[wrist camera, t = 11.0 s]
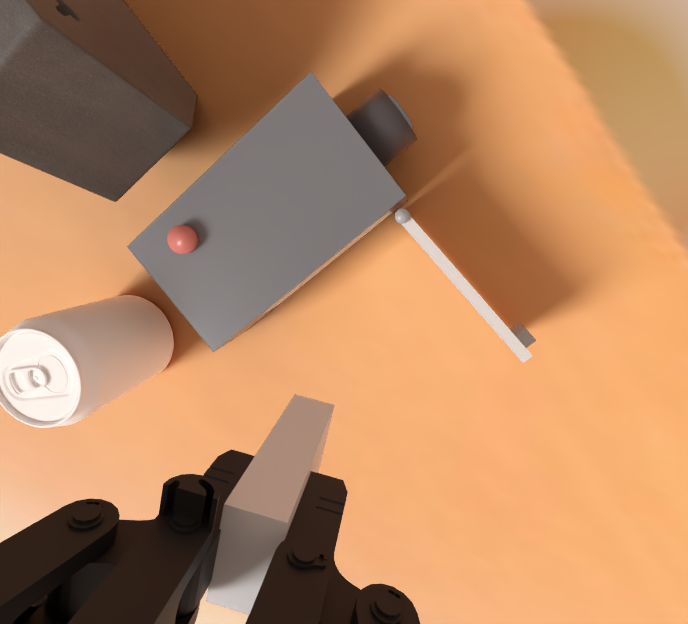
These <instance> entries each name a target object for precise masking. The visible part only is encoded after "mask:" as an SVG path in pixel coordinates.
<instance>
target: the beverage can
mask: <svg viewBox="0 0 688 624" xmlns="http://www.w3.org/2000/svg"><path fill="white" fill-rule="evenodd" d="M173 348H174V338H173V332H172V329H171V326H170V324H169V322H168V320H167V318H166V316H165V315H164V314H163V312H162V311H161V310H160V309H159V308H158V307H157V306H156V305H154V304H153V303H151V302H150V301H148V300H146V299H144V298H141V297H138V296H133V295H122V296H117V297H113V298H109V299H105V300H101V301H97V302H93V303H89V304H85V305H81V306H77V307H73V308H69V309H65V310H61V311H57V312H53V313H49V314H45V315H41V316H37V317H33V318H30V319H27V320H24V321H22V322H20V323H19V324H17V325H15V326H14V327H13V328H12V329H11V330H10V331H9V332H8V333H6V334H5V335H3V336H2V337H1V338H0V404H1V405H2V406H3V408H4V409H5V410H6V411H7V412H8V413H9V414H11V415H12V416H13V417H14V418H16V419H17V420H19V421H21V422H23V423H25V424H27V425H30V426H34V427H41V428H46V427H53V426H65V425H70V424H73V423H76V422H79V421H81V420H82V419H84V418H86V417H87V416H89V415H91V414H93V413H94V412H96V411H98V410H99V409H101V408H103V407H104V406H106V405H108V404H109V403H111V402H113V401H114V400H116V399H118V398H119V397H121V396H123V395H125V394H126V393H128V392H130V391H131V390H133V389H135V388H136V387H138V386H140V385H141V384H143V383H145V382H146V381H148V380H150V379H151V378H153V377H155V376H156V375H158V374H159V373H161V372H162V371H163V370H164V369H165V368H166V366H167V365H168V363H169V361H170V359H171V357H172V354H173Z"/></svg>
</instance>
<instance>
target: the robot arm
mask: <svg viewBox="0 0 688 624" xmlns="http://www.w3.org/2000/svg"><path fill="white" fill-rule="evenodd" d="M333 409H334V405H332V404H328V403H325V402H321V401H317V400H314V399H310V398H306V397H303V396H299V395H296V394H295V395H294V396H293V398H292V399H291V401H290V402H289V404H288V406H287V407H286V409H285V410H284V412H283V413H282V415H281V416H280V418H279V420H278V421H277V423H276V424H275V426H274V427H273V429H272V430H271V432H270V434H269V435H268V437H267V438H266V440H265V441H264V443H263V444H262V446H261V447H260V449H259V451H258V452H257V454H256V455H255V456H252V455H249V454H245V453H242V452H238V451H235V450H230V451H228V452H226V453H224V454H222V455H220V456H218V457H217V458H216V460H215V461H214V462H213V463H212V465H211V466H210V468H208V470H207V471H206V472H205V474H204V476H202V475H195V474H186V475H179V476H176V477H173V478H171V479H169V480H168V481H166V482H165V483H164V484H163V490H162V497H161V504H160V510H159V515H158V516H157V517H156V518H155V519H153V520H143V521H136V520H119V512H118V508H116V507H115V506H114V505H113V504H112V503H110V502H107V501H105V500H102V499H85V500H79V501H75V502H73V503H71V504H68V505H66V506H64V507H62V508H60V509H59V510H57V511H55V512H53V513H52V514H50V515H48V516H46V517H45V518H43V519H41V520H39V521H38V522H36V523H34V524H32V525H31V526H29V527H27V528H25V529H24V530H22V531H20V532H18V533H17V534H15V535H13V536H11V537H10V538H8V539H6V540H4V541H3V542H1V543H0V624H194V623H195V621H196V618H197V614H198V610H199V605H200V600H201V599H202V597H203V595H204V593H205V591H206V589H207V588H208V592H207V597H206V601H207V602H210V603H213V604H216V605H219V606H222V607H226V608H229V609H232V610H235V611H238V612H241V613H244V614H247V615H249V617H248V619H247V622H246V624H420V621H419V618H418V614H417V612H416V610H415V607H414V605H413V603H412V602H411V601H410V600H409V599H408V598H407V596H406V595H405V594H404V593H402V592H401V591H399V590H397V589H396V588H394V587H392V586H388V585H384V584H371V585H369V586H367V587H365V588H363V589H362V590H360V589H359V588H357V587H356V586H354V585H352V584H351V583H350V582H348V581H347V580H346V579H345V578H344V577H343V576H342V575H341V574H340V573H339V571H338V569H337V567H336V565H335V561H334V551H335V546H336V542H337V537H338V533H339V528H340V524H341V519H342V515H343V510H344V506H345V501H346V497H347V490H346V487H345V484H344V482H343V480H340V479H337V478H333V477H330V476H326V475H323V474H319V473H318V471H319V467H320V463H321V459H322V455H323V450H324V446H325V442H326V438H327V434H328V429H329V425H330V421H331V417H332V413H333ZM208 586H209V587H208Z"/></svg>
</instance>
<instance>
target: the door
mask: <svg viewBox="0 0 688 624" xmlns="http://www.w3.org/2000/svg"><path fill="white" fill-rule="evenodd" d="M395 220H396V221H397V222H398V223H400V224H402V226H403V227H404V228H405V229H406V230H407V231H408V232H409V234H410V235H411V236H412V237H413V238H414V239H415V240H416V242H417V243H418V244H419V245H420V246H421V247H422V248H423V250H424V251H425V252H426V253H427V254H428V255H429V256H430V258H431V259H432V260H433V261H434V262H435V263H436V264H437V266H438V267H439V268H440V269H441V270H442V271H443V272H444V274H445V275H446V276H447V277H448V278H449V279H450V280H451V281H452V283H453V284H454V285H455V286H456V287H457V288H458V289H459V291H460V292H461V293H462V294H463V295H464V296H465V297H466V299H467V300H468V301H469V302H470V303H471V304H472V305H473V307H474V308H475V309H476V310H477V311H478V312H479V313H480V315H481V316H482V317H483V318H484V319H485V320H486V321H487V323H488V324H489V325H490V326H491V327H492V328H493V329H494V331H495V332H496V333H497V334H498V335H499V336H500V337H501V339H502V340H503V341H504V342H505V343H506V344H507V345H508V346H509V348H510V349H511V350H512V351H513V352H514V353H515V354H516V356H517V357H518V358H519V359H520V360H521V361H522V362H523V363H524V362H525V361H527V360H528V359H529V358H531V357H532V355H531V353H530V352H529V351H528V350H527V349H526V348H527V347H528V346H529V345H531V344H532V343H533V342H535V341H536V340H535V338H534V337H533V336H532V335H531V334H530V333H529V332H528V330H527V329H526V328H525V327H524V326H523V325H522V324H521V323H520V322H519V323H517V324H516V325H515V326H513V327H512V328H511V329H509V328H508V327H507V326H506V325H505V324H504V322H503V321H502V320H501V319H500V318H499V317H498V316H497V314H496V313H495V312H494V311H493V310H492V309H491V308H490V306H489V305H488V304H487V303H486V302H485V301H484V300H483V298H482V297H481V296H480V295H479V294H478V293H477V292H476V290H475V289H474V288H473V287H472V286H471V285H470V284H469V282H468V281H467V280H466V279H465V278H464V277H463V276H462V274H461V273H460V272H459V271H458V270H457V269H456V268H455V266H454V265H453V264H452V263H451V262H450V261H449V260H448V258H447V257H446V256H445V255H444V254H443V253H442V252H441V250H440V249H439V248H438V247H437V246H436V245H435V244H434V242H433V241H432V240H431V239H430V238H429V237H428V236H427V234H426V233H425V232H424V231H423V230H422V229H421V228H420V226H419V225H418V224H417V223H416V222H415V221H414V220H413V218H412V217H411V215H410V213H409V212H408V210H406V209H399V210H397V211H396V213H395Z"/></svg>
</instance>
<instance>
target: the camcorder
mask: <svg viewBox="0 0 688 624" xmlns="http://www.w3.org/2000/svg"><path fill="white" fill-rule="evenodd" d="M412 128H413V125H412V123H411V121H410V120H409V118H408V116H407V115H406V113H405V112H404V111H403V109H402V108H401V106H400V105H399V104H398V103H397V101H396V100H395V99H394V98H393V97H392V96H391V95H388V96H387V94H386V93H385V92H384V91H383V90H382V89H381V88H378V89H377V90H376V91H375V92H374V93H372V94H371V95H370V96H369V97H368V98H367V99H366V100H365V101H364V102H362V103H361V104H360V105H359V106H358V107H357V108H356V109H355V110H353V111H352V112H351V113H350V114H349V115H348V116H347V117H345V115H344V114H343V113H342V111H341V110H340V109H339V107H338V106H337V105H336V103H335V102H334V101H333V100H332V98H331V97H330V96H329V94H328V93H327V92H326V90H325V89H324V88H323V86H322V85H321V84H320V83H319V81H318V80H317V79H316V77H315V76H314V75H313V73H312V72H310V73H309V74H308V75H307V76H306V77H305V78H304V79H303V80H302V81H301V82H300V83H299V84H297V85H296V86H295V87H294V88H293V89H292V90H291V91H290V92H289V93H288V94H287V95H286V96H285V97H284V98H283V99H282V100H281V101H280V102H279V103H278V104H276V105H275V106H274V107H273V108H272V109H271V110H270V111H269V112H268V113H267V114H266V115H265V116H264V117H263V118H262V119H261V120H260V121H259V122H258V123H256V124H255V125H254V126H253V127H252V128H251V129H250V130H249V131H248V132H247V133H246V134H245V135H244V136H243V137H242V138H241V139H240V140H239V141H238V142H237V143H235V144H234V145H233V146H232V147H231V148H230V149H229V150H228V151H227V152H226V153H225V154H224V155H223V156H222V157H221V158H220V159H219V160H218V161H217V162H215V163H214V164H213V165H212V166H211V167H210V168H209V169H208V170H207V171H206V172H205V173H204V174H203V175H202V176H201V177H200V178H199V179H198V180H197V181H195V182H194V183H193V184H192V185H191V186H190V187H189V188H188V189H187V190H186V191H185V192H184V193H183V194H182V195H181V196H180V197H179V198H178V199H177V200H176V201H174V202H173V203H172V204H171V205H170V206H169V207H168V208H167V209H166V210H165V211H164V212H163V213H162V214H161V215H160V216H159V217H158V218H157V219H156V220H154V221H153V222H152V223H151V224H150V225H149V226H148V227H147V228H146V229H145V230H144V231H143V232H142V233H141V234H140V235H139V236H138V237H137V238H136V239H135V240H133V241H132V242H131V243H130V244H129V245H128V246H127V247H128V248H129V250H130V251H131V252H132V253H133V255H134V256H135V257H136V258H137V259H138V261H139V262H140V263H141V264H142V266H143V267H144V268H145V269H146V270H147V272H148V273H149V274H150V275H151V277H152V278H153V279H154V280H155V281H156V283H157V284H158V285H159V286H160V288H161V289H162V290H163V291H164V292H165V294H166V295H167V296H168V297H169V299H170V300H171V301H172V302H173V303H174V305H175V306H176V307H177V308H178V310H179V311H180V312H181V313H182V314H183V316H184V317H185V318H186V319H187V321H188V322H189V323H190V324H191V325H192V327H193V328H194V329H195V330H196V332H197V333H198V334H199V335H200V336H201V338H202V339H203V340H204V341H205V343H206V344H207V345H208V346H209V347H210V349H211V350H212V351H213V352H214V351H216V350H217V349H219V348H221V347H222V346H224V345H225V344H227V343H228V342H230V341H231V340H233V339H234V338H236V337H238V336H239V335H241V334H242V333H244V332H245V331H247V330H248V329H249V328H251V327H252V326H253V325H254V324H255V323H257V322H258V321H259V320H260V319H262V318H263V317H264V316H265V315H267V314H268V313H269V312H270V311H272V310H273V309H274V308H275V307H276V306H278V305H279V304H280V303H282V302H283V301H284V300H285V299H287V298H288V297H289V296H290V295H292V294H293V293H294V292H295V291H296V290H298V289H299V288H300V287H301V286H303V285H304V284H305V283H306V282H308V281H309V280H310V279H311V278H313V277H314V276H315V275H316V274H317V273H319V272H320V271H321V270H322V269H324V268H325V267H326V266H327V265H329V264H330V263H331V262H332V261H334V260H335V259H336V258H337V257H339V256H340V255H341V254H342V253H343V252H345V251H346V250H347V249H348V248H350V247H351V246H352V245H353V244H355V243H356V242H357V241H358V240H360V239H361V238H362V237H363V236H364V235H366V234H367V233H368V232H369V231H371V230H372V229H373V228H374V227H376V226H377V225H378V224H379V223H381V222H382V221H383V220H384V219H386V218H387V217H388V216H389V215H390V214H392V213H393V212H394V211H395V210H396V209H398V208H399V207H400V206H401V205H403V204H404V203H405V202H406V201H408V200H407V197H406V195H405V193H404V192H403V191H402V190H401V188H400V187H399V186H398V184H397V183H396V182H395V180H394V179H393V178H392V177H391V175H390V174H389V173H388V171H387V170H386V169H385V166H386V165H387V164H389V163H390V162H391V161H392V160H393V159H395V158H396V157H397V156H398V155H399V154H400V153H402V152H403V151H404V150H405V149H406V148H408V147H409V146H410V145H411V144H412V143H413V142H415V141H416V140H417V138H416V136H415V134H414V132H413V130H412Z"/></svg>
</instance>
